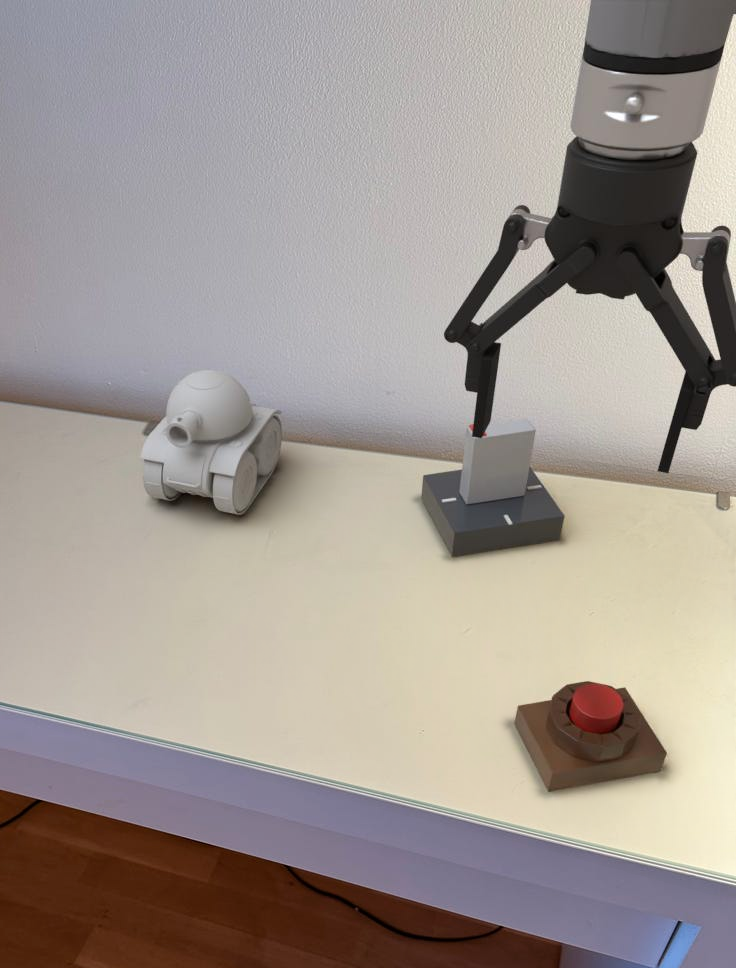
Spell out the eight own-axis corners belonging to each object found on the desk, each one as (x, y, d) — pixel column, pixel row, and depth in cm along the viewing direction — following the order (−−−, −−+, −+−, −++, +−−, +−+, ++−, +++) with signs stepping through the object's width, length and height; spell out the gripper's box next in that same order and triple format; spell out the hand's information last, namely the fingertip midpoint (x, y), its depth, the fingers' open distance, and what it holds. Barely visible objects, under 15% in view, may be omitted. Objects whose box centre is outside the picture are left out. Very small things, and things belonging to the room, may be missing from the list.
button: (606, 695, 74) (610, 679, 73) (627, 729, 72) (632, 714, 70) (561, 703, 74) (565, 687, 73) (581, 737, 71) (585, 722, 70)
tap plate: (521, 483, 101) (525, 457, 99) (560, 541, 94) (565, 514, 92) (420, 498, 100) (422, 473, 98) (452, 558, 93) (455, 531, 91)
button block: (619, 705, 78) (630, 670, 75) (660, 771, 73) (673, 737, 70) (513, 723, 77) (520, 689, 75) (547, 791, 72) (556, 758, 70)
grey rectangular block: (516, 483, 96) (527, 415, 91) (524, 496, 95) (536, 427, 89) (459, 492, 96) (466, 424, 90) (466, 505, 94) (474, 436, 89)
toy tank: (233, 533, 98) (223, 421, 89) (141, 514, 101) (122, 404, 92) (286, 456, 107) (282, 348, 98) (201, 440, 111) (189, 335, 102)
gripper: (413, 141, 59) (395, 439, 74) (865, 180, 51) (744, 507, 66) (448, 107, 64) (425, 393, 79) (866, 137, 56) (753, 450, 70)
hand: (570, 445), depth 72 cm, fingers open, 13 cm apart
